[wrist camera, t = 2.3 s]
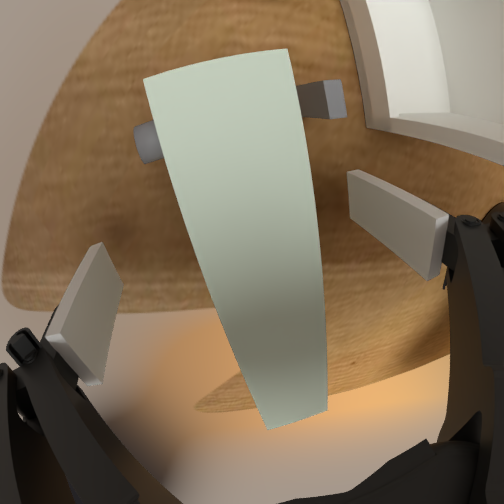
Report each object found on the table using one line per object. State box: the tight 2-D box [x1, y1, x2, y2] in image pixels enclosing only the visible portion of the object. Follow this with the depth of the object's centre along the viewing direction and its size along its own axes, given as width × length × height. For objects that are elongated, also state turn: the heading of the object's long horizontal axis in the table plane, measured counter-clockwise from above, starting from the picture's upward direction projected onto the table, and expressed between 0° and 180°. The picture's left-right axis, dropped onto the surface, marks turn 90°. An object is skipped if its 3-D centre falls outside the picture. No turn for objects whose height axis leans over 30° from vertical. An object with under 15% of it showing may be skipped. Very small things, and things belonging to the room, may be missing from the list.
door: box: [134, 49, 328, 430], centre depth 13 cm, size 14×4×12 cm, turn 12°
